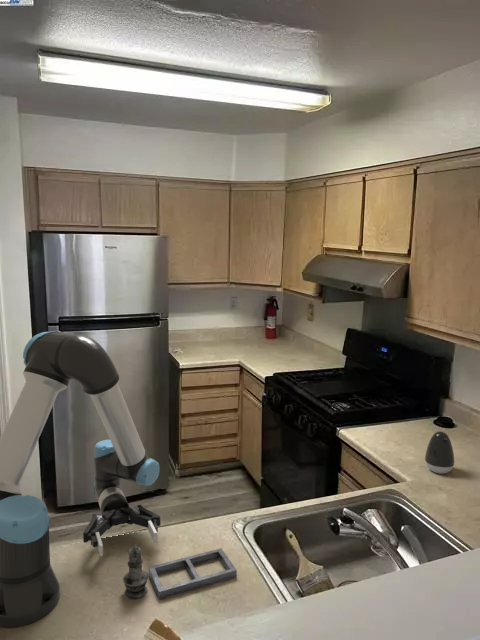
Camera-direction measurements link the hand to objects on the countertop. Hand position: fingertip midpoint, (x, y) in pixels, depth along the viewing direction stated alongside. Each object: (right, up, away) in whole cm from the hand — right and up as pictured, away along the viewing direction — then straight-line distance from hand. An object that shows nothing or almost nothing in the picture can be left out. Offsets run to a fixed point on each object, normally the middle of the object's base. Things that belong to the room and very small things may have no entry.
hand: (129, 544), depth 121 cm
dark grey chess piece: (+3, -8, -7) cm, 11 cm away
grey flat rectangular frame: (+16, -7, -1) cm, 18 cm away
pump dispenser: (+102, -1, +60) cm, 118 cm away
